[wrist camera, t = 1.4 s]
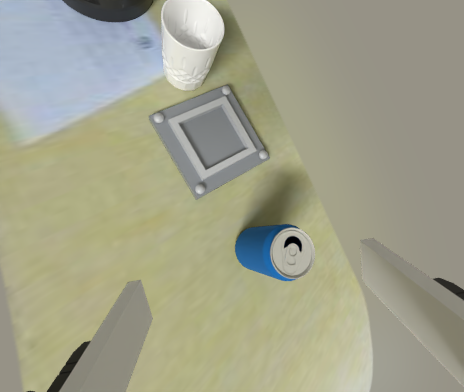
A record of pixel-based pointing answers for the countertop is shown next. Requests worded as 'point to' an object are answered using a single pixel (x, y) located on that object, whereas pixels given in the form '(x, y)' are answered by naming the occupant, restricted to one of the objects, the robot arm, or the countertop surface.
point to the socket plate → (209, 140)
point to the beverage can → (276, 251)
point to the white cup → (189, 41)
